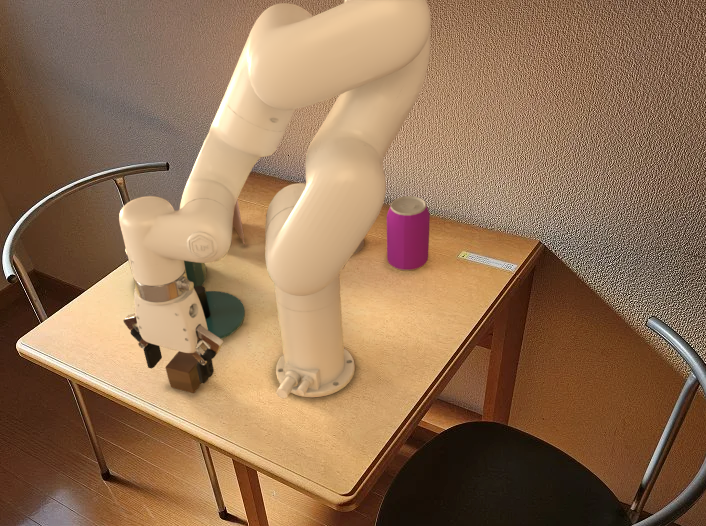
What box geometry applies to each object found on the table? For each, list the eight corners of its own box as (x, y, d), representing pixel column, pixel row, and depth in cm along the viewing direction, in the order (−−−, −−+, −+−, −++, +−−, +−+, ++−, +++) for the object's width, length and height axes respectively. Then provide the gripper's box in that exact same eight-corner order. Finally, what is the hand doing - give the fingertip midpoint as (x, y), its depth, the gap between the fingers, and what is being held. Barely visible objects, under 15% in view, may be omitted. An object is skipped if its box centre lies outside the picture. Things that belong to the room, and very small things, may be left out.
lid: (220, 354, 124) (213, 322, 119) (148, 336, 129) (139, 306, 125) (259, 304, 133) (254, 273, 128) (191, 290, 138) (184, 260, 134)
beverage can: (383, 271, 137) (382, 214, 129) (391, 248, 142) (391, 192, 134) (424, 275, 134) (426, 217, 126) (431, 252, 140) (433, 195, 132)
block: (193, 393, 117) (188, 373, 114) (170, 387, 119) (164, 367, 116) (207, 376, 120) (202, 355, 117) (184, 370, 122) (179, 350, 119)
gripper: (226, 279, 105) (239, 368, 117) (126, 257, 112) (148, 344, 123) (199, 309, 101) (216, 399, 112) (97, 284, 107) (122, 372, 118)
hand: (180, 370), depth 118 cm, fingers open, 9 cm apart
